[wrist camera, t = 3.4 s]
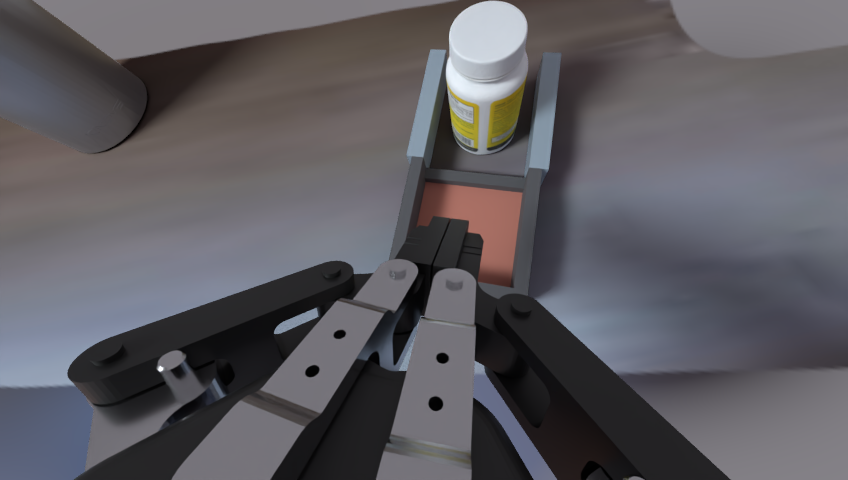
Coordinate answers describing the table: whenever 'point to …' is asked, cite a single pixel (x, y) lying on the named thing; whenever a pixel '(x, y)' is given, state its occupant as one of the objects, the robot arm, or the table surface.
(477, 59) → the supplement bottle
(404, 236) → the trap bin
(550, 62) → the trough
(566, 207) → the table surface
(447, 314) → the robot arm
